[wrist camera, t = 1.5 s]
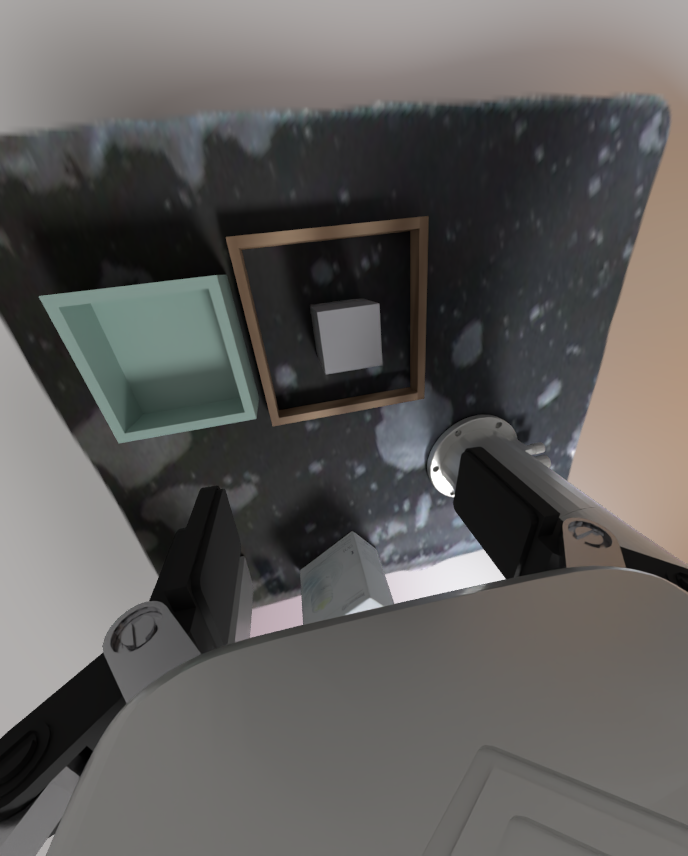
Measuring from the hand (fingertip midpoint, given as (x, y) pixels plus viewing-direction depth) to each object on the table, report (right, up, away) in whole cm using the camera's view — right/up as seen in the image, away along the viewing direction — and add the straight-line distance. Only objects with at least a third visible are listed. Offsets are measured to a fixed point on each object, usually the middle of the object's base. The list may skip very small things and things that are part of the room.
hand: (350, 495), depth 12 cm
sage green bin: (-15, +10, +16) cm, 24 cm away
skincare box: (-1, -17, +33) cm, 37 cm away
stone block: (-1, +13, +18) cm, 22 cm away
